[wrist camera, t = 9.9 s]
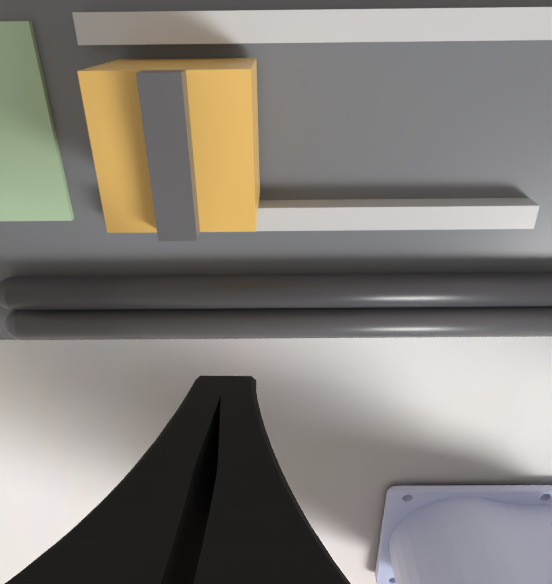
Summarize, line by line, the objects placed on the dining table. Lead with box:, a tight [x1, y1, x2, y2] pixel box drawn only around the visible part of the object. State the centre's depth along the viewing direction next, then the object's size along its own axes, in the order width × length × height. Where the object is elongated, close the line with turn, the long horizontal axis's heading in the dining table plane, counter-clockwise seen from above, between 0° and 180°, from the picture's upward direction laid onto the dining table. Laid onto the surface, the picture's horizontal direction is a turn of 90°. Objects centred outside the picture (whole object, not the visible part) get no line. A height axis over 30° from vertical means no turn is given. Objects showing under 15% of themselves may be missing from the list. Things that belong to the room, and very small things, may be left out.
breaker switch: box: [77, 58, 260, 241], centre depth 14 cm, size 4×4×4 cm
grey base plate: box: [0, 0, 552, 340], centre depth 16 cm, size 28×16×3 cm, turn 91°
